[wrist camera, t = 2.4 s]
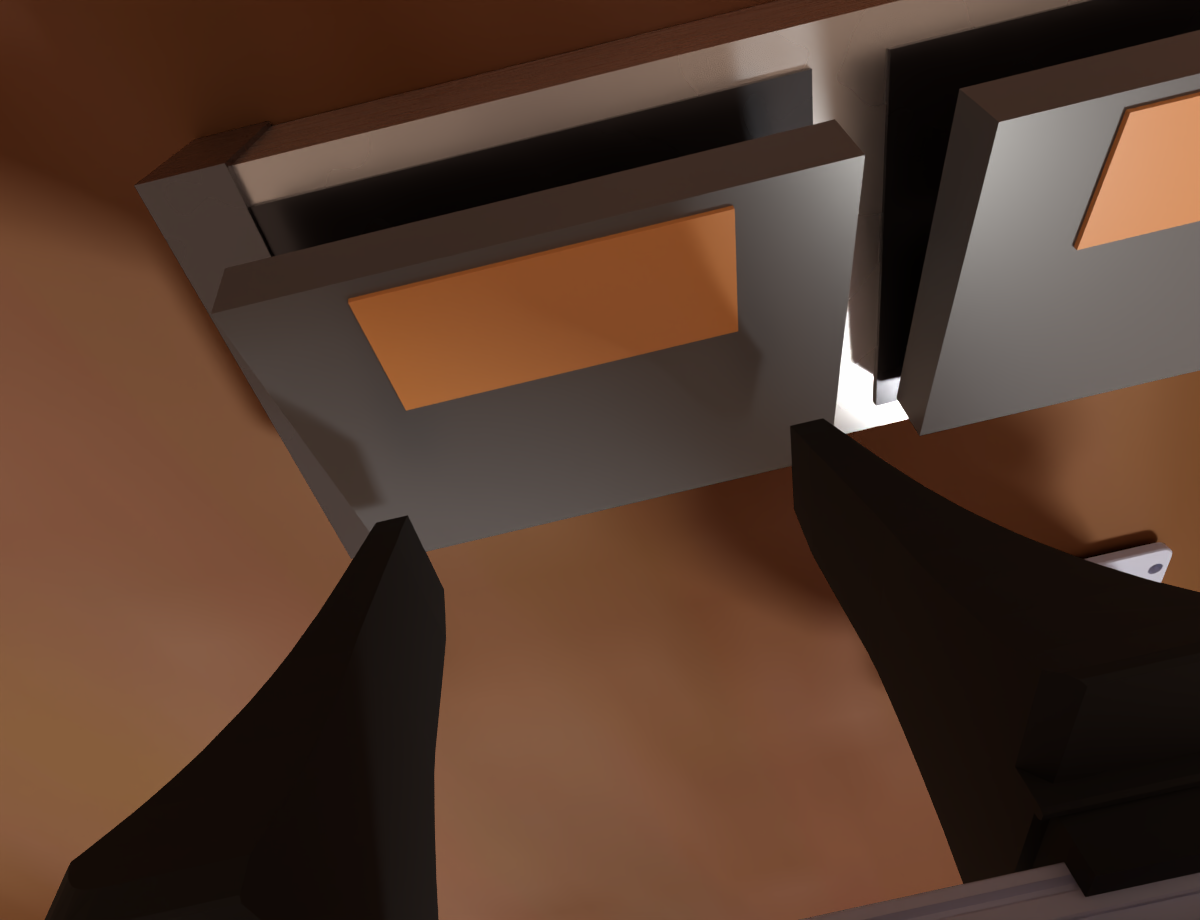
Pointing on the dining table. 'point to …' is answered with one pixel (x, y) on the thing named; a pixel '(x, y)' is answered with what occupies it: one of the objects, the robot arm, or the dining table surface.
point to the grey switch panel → (644, 148)
